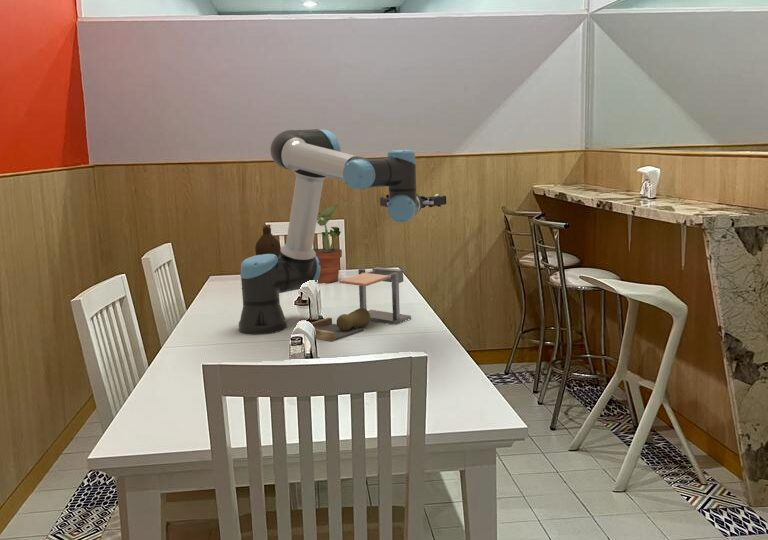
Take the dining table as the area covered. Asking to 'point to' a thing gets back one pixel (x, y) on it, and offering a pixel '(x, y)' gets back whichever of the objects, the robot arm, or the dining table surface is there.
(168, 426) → the dining table surface
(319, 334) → the wooden picture frame
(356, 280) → the drop flap
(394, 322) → the flap stand
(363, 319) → the cork
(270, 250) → the olive oil
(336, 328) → the mat
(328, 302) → the dining table surface
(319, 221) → the potted plant
